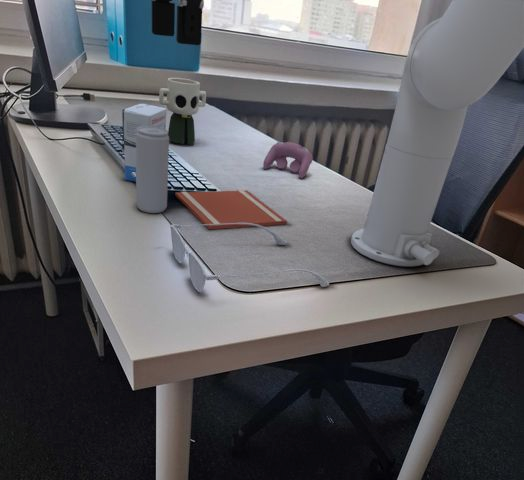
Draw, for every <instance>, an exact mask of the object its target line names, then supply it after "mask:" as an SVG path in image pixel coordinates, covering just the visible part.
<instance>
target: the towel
mask: <svg viewBox="0 0 524 480" xmlns="http://www.w3.org/2000/svg"><path fill="white" fill-rule="evenodd" d="M174 196H175V197H176V199H178V200H179V201H180V202H181V203H182V204H183V205H184V206H185V207H186V208H187V209H188V210H189V211H190V212H191V213H192V214H193V215H194V216H195V217H196V218H197V219H198V220H199V221H200V222H201V223H202V224H222V225H204V227H206V228H207V229H208V230H220V229H237V228H252V227H254V226H253V225H247V224H225V223H252V224H257V225H260V226H263V227H266V226H281V225H283V226H284V225H287V224H288V220H286V219H285V218H284V217H282V216H281V215H280V214H278V213H277V212H276V211H275V210H273V209H272V208H271V207H269V206H268V205H267V204H266V203H264V202H263V201H262V200H261V199H259V198H258V197H256V196H255V195H253V193H251V192H250V191H249V190H243V189H237V190H217V191H216V190H215V191H178V192H175V194H174Z"/></svg>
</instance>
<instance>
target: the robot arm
mask: <svg viewBox="0 0 524 480" xmlns="http://www.w3.org/2000/svg"><path fill="white" fill-rule="evenodd" d="M178 2H179V5H177V6H176V3H174V2H173V0H151V33H152V34H153V35H155V36H162V37H163V36H165V37H174V36H175V25H176V42H177V44H181V45H191V46H200V45H201V43H202V27H203V26H202V25H203V9H204V7H205V0H179V1H178ZM175 17H176V18H175ZM175 20H176V21H175ZM175 22H176V24H175ZM523 49H524V0H452V1H451V3H449V6H448V7H447V9H446V10H445V11H444V13H443V14H442V16H441V17H439V18H437V19H434V20H433V21H431V22H430V23H428V24H427V25H426V26H425V27H423V29H421V30H420V32H419V33H418V34H417V35H416V37H415V38H414V40H413V42H412V43H411V46H410V47H409V50H408V52H407V55H406V59H405V61H404V67H403V71H402V76H401V81H400V86H399V91H398V95H397V99H396V104H395V109H394V113H393V116H392V120H391V125H390V129H389V133H388V137H387V141H386V143H385V146H384V147H385V148H384V150H383V155H382V158H381V163H380V166H379V170H378V173H377V178H376V182H375V185H374V190H373V193H372V196H371V201H370V203H369V204H370V205H369V208H368V212H367V215H366V216H367V217H366V220H365V223H364V227H363V228H361V229H357V230H355V231H354V232H353V233H352V236H351V239H350V243H351V246H352V247H353V248H354V250H356V251H357V252H358V253H359V254H361V255H363V257H366V258H368V259H371V260H374V261H376V262H378V263H382V264H386V265H391V266H396V267H405V268H406V267H409V268H410V267H419V266H422V265H425V266H429V265H431V264H432V263H433V262H434V260H435V259H437V258H438V257H439V256H440V250H439V249H437V248H436V247H434V246H432V245H430V243H431V241H432V237H433V233H431V232H430V231H429V229H430V226H431V223H432V220H433V217H434V214H435V212H436V211H435V210H436V208H437V205H438V202H439V200H440V196H441V193H442V190H443V187H444V184H445V181H446V179H447V177H448V174H449V171H450V167H451V164H452V161H453V157H454V155H455V152H456V149H457V147H458V144H459V140H460V138H461V134H462V131H463V126H464V123H465V120H466V116H467V112H468V108H469V106H471V105H473V104H475V103H476V102H478V101H480V100H481V99H482V98H484V96H485V95H486V94H487V93H488V92H489V91H490V90H491V89H492V88H493V87H494V86H495V85H496V84H497V83H498V81H499V80H500V78H501V77H502V76H503V75H504V73H506V71H507V70H508V68H509V67H510V66H511V65H512V64H513V62H514V61H515V60H516V58H517V57H518V56H519V54H521V52H522V51H523Z"/></svg>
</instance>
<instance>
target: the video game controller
mask: <svg viewBox="0 0 524 480" xmlns="http://www.w3.org/2000/svg"><path fill="white" fill-rule="evenodd" d="M287 158H290V159H294V160H292V161H291V162H290V164H288V160H287ZM313 158H314V156H313V154H312V153H311V152H310V150H308V149H307V147H305V146H303V145H301V144H300V143H295V142H293V141H285V142H283V141H277V142H275V144H273V145H272V146H271V147H270V149H269V151H268V152H267V154H266V155H265V158H264V159H263V165H262V166H263V169H264V170H266V169H267V170H268V169H269V168H270V167H271V166H272V165H273V164H274V162H276V166H277V168H278V169H280V170H285V169H287V167H288V165H289V169H290V171H291V172H292V173H294V174H298V177H299V179H303V178H304V177H306V175H307V173H308V171H309V169H310V166H311V164H313V160H314V159H313Z"/></svg>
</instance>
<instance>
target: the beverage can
mask: <svg viewBox="0 0 524 480" xmlns="http://www.w3.org/2000/svg"><path fill="white" fill-rule="evenodd" d="M137 131H138V132H137V133H136V182H135V190H136V191H135V193H136V194H135V195H136V196H135V197H136V198H135V200H136V201H135V202H136V203H135V204H136V207H137V208H138V210H140V211H141V212H143V213H148V214H161V213H163V212H165V210H166V209H167V207H168V187H169V185H168V184H169V155H170V153H169V151H170V150H169V149H170V140H169V136H168V130H167V129H166V130H165V129H162V128H158V127H150V126H143V127H138V128H137Z"/></svg>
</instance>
